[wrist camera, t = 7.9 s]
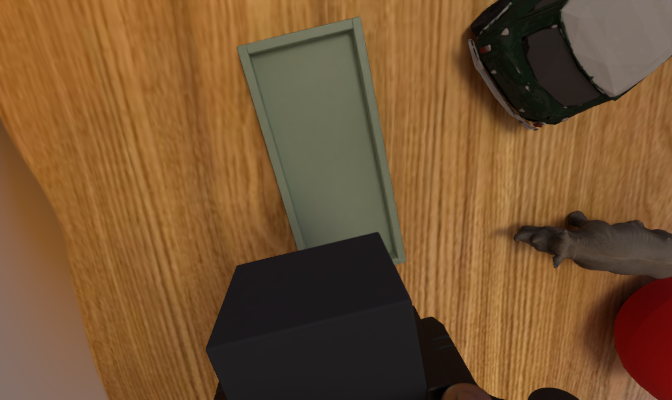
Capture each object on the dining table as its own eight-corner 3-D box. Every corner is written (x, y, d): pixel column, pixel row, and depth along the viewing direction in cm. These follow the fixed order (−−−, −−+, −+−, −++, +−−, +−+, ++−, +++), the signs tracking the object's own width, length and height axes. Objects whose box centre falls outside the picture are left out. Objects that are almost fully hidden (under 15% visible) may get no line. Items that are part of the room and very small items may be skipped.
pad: (296, 428, 15) (293, 549, 11) (235, 264, 12) (203, 350, 8) (412, 400, 15) (449, 512, 11) (378, 230, 12) (411, 300, 8)
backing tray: (308, 276, 30) (308, 287, 28) (240, 48, 24) (236, 46, 22) (400, 252, 30) (406, 262, 28) (356, 20, 24) (360, 15, 23)
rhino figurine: (502, 199, 29) (549, 226, 24) (645, 214, 31) (722, 243, 25) (489, 243, 31) (531, 279, 25) (628, 256, 32) (697, 292, 27)
